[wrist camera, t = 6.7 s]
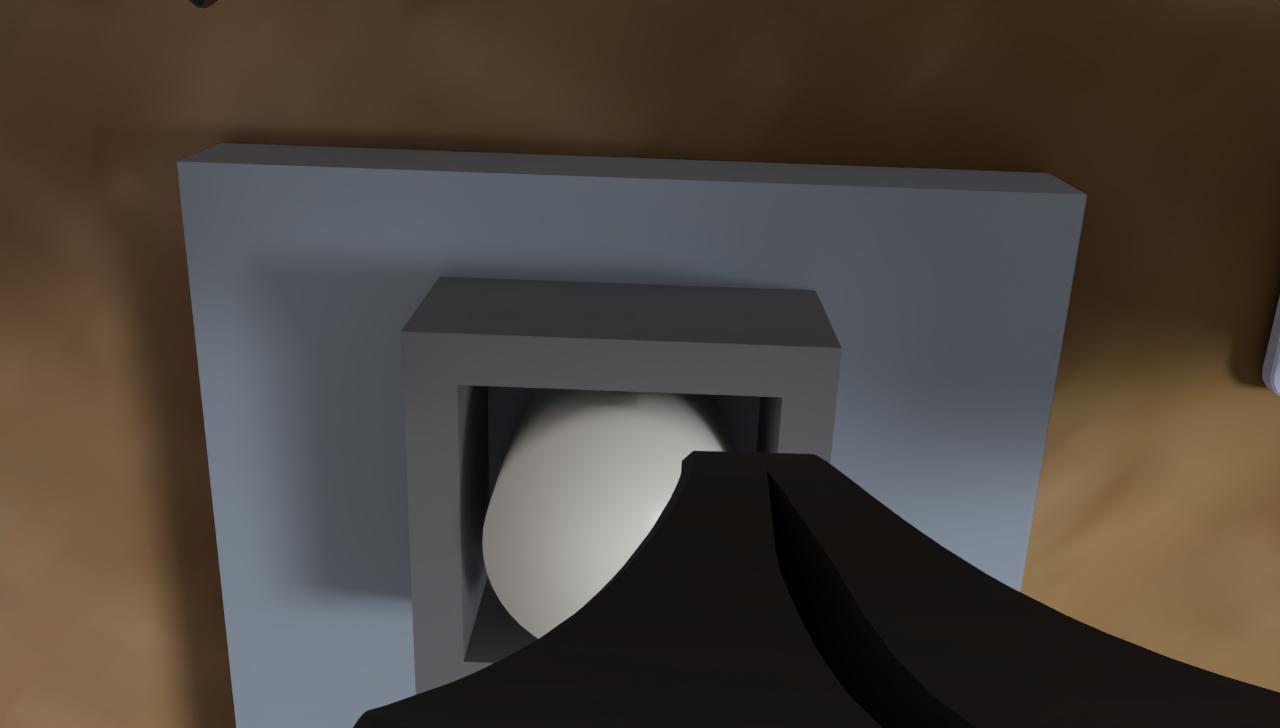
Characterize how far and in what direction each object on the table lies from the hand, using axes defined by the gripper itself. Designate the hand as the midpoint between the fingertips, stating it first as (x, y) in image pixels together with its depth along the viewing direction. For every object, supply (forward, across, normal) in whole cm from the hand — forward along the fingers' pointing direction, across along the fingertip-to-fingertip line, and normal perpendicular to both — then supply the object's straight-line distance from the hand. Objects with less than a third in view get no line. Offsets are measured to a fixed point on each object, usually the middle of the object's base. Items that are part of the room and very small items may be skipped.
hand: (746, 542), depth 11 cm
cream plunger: (+8, +1, +3) cm, 9 cm away
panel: (+10, +1, +8) cm, 13 cm away
